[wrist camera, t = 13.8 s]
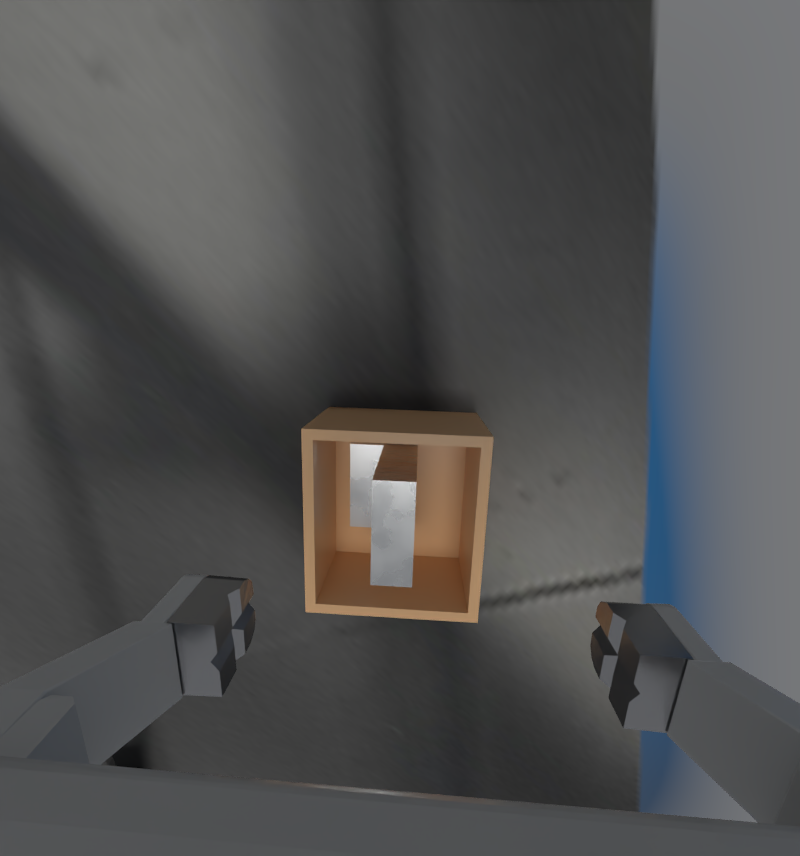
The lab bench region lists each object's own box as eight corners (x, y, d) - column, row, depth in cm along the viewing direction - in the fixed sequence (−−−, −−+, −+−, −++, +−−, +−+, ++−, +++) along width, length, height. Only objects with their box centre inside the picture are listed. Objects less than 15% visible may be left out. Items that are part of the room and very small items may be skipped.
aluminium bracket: (414, 523, 39) (412, 587, 29) (352, 520, 39) (329, 582, 29) (417, 443, 37) (416, 482, 27) (352, 440, 37) (327, 477, 27)
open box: (329, 406, 37) (301, 428, 29) (476, 412, 37) (493, 437, 28) (330, 552, 41) (305, 612, 32) (465, 560, 40) (477, 622, 32)
